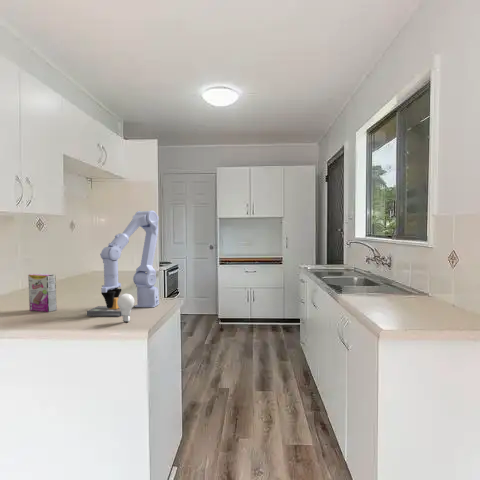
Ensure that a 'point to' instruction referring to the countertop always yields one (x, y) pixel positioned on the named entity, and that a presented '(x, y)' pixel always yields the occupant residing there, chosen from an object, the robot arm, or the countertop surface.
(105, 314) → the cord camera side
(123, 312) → the lightbulb
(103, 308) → the breaker panel
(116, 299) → the knob
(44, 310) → the candy bar box
